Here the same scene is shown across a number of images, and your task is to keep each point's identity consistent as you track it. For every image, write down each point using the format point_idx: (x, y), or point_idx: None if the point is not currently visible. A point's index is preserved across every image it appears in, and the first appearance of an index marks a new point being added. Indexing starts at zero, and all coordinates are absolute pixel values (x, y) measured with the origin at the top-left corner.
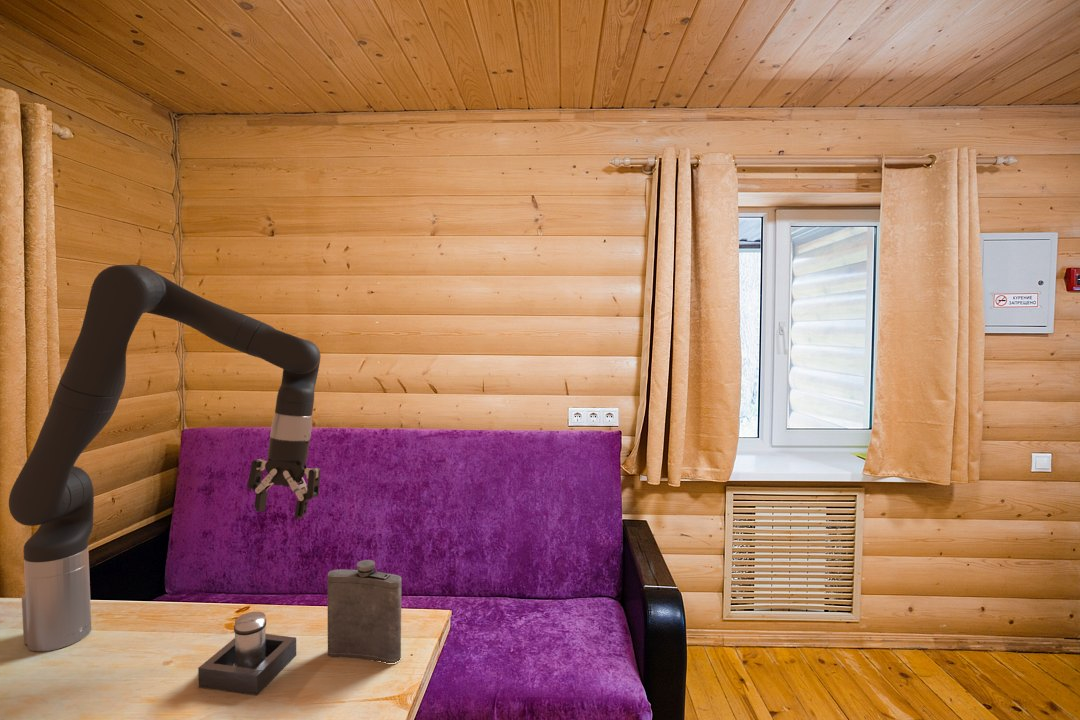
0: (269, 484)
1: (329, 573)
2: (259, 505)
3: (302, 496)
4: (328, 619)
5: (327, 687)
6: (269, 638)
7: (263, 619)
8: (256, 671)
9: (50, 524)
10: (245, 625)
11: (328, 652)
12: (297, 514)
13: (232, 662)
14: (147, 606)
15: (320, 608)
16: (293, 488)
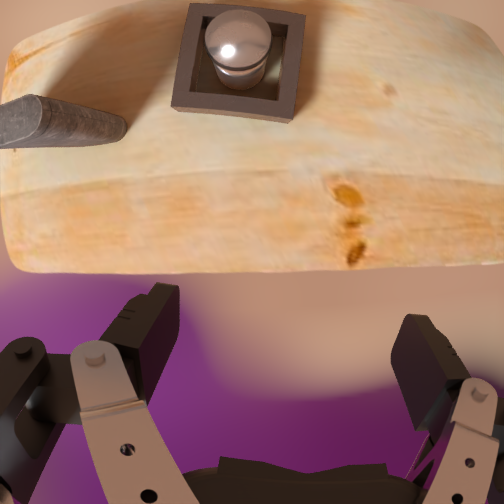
0: (424, 462)
1: (37, 108)
2: (422, 332)
3: (76, 361)
4: (92, 109)
5: (99, 51)
6: (223, 98)
7: (205, 37)
8: (196, 11)
9: None
10: (233, 12)
11: (120, 117)
12: (153, 291)
13: (279, 75)
14: (491, 251)
15: (205, 267)
16: (126, 419)
